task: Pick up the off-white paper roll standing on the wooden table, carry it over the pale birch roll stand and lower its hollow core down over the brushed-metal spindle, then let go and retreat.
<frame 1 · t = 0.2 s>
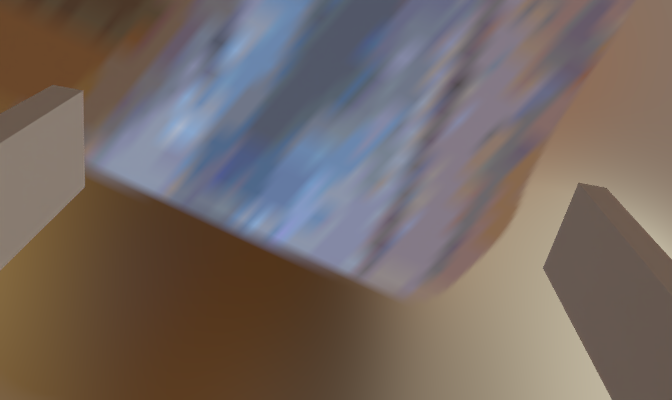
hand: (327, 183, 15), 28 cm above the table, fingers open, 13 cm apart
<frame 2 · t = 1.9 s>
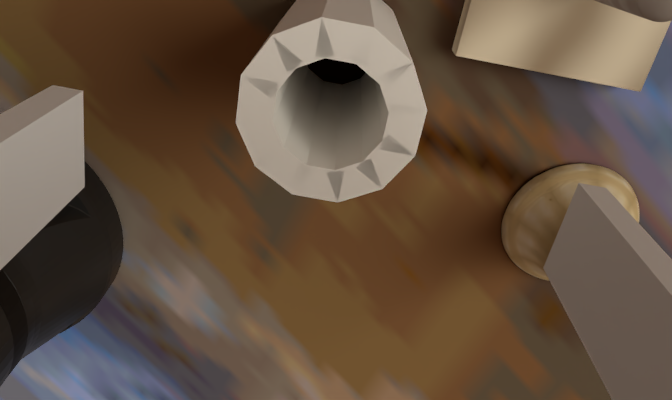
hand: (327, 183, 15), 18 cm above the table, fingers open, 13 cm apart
hand bell: (567, 222, 36), on the table
roll: (339, 47, 31), on the table
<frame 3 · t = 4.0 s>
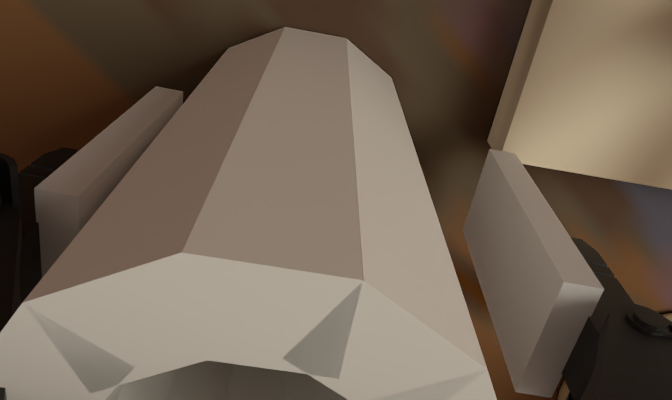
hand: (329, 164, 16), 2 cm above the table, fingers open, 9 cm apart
roll: (298, 139, 18), on the table
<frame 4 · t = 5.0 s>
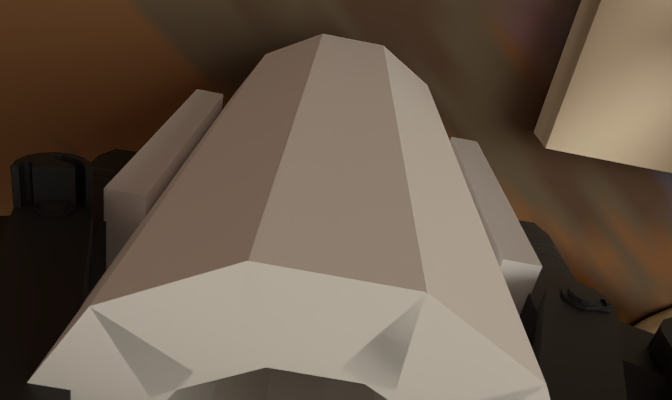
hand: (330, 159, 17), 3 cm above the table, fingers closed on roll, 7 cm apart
roll: (332, 145, 18), point 2 cm above the table, touching gripper
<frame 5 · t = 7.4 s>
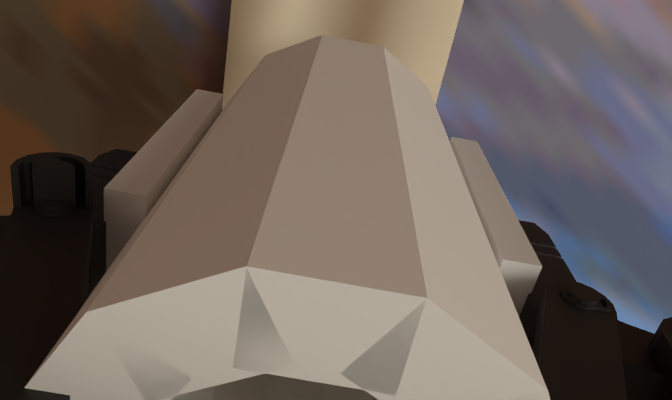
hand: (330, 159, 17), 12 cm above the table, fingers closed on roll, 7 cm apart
stand: (335, 63, 28), on the table
roll: (332, 147, 18), point 11 cm above the table, touching gripper
when the fingers open (4 cm above the table, at t = 9.9 s): roll drops 2 cm, resting on stand.
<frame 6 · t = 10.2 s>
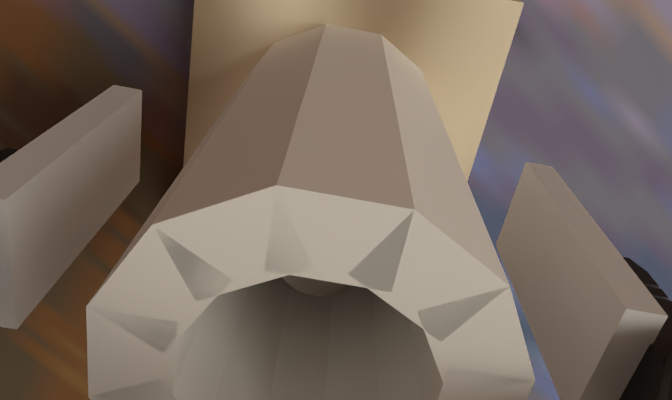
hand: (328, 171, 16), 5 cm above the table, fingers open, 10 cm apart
stand: (335, 112, 21), on the table
roll: (335, 126, 19), point 1 cm above the table, touching stand
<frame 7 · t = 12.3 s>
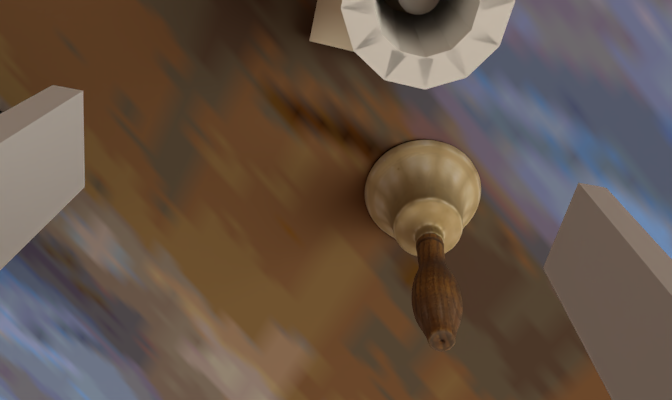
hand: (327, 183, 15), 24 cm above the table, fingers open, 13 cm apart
hand bell: (421, 191, 41), on the table
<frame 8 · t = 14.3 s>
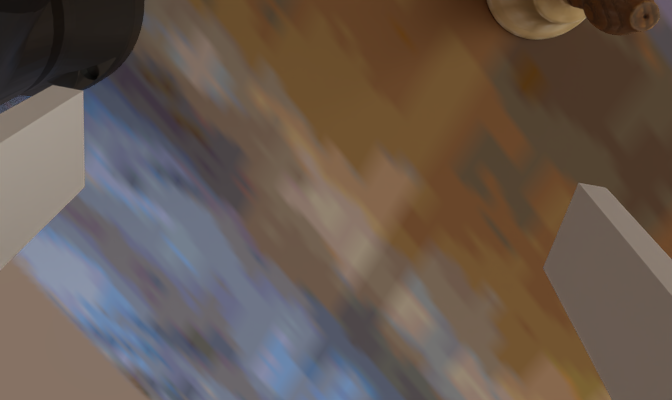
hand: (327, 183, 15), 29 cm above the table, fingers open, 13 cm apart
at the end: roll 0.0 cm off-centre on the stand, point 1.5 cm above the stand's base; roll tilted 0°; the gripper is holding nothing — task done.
